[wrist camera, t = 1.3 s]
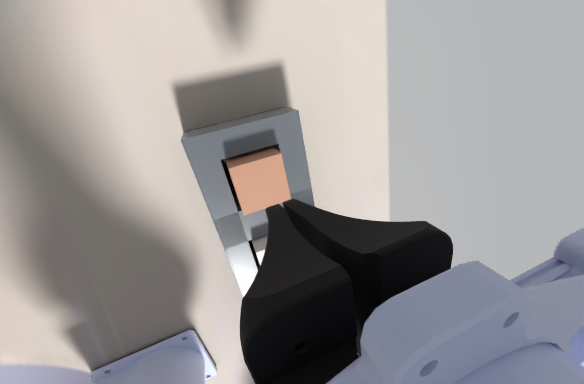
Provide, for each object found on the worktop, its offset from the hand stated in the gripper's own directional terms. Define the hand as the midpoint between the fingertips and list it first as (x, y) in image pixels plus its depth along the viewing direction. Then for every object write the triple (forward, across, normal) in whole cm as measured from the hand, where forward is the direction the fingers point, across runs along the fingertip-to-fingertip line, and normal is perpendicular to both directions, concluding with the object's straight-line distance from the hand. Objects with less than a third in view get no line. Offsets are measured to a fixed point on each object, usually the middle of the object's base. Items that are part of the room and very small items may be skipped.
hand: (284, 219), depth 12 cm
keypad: (+9, 0, +7) cm, 12 cm away
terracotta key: (+8, 0, 0) cm, 8 cm away
